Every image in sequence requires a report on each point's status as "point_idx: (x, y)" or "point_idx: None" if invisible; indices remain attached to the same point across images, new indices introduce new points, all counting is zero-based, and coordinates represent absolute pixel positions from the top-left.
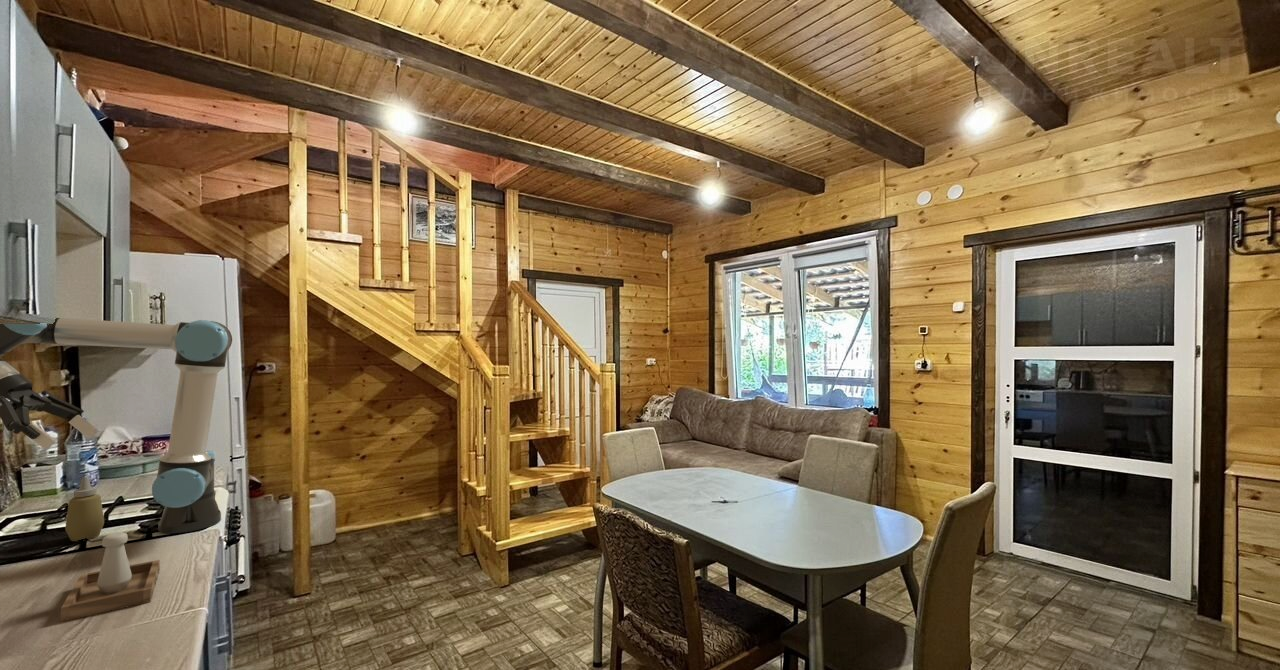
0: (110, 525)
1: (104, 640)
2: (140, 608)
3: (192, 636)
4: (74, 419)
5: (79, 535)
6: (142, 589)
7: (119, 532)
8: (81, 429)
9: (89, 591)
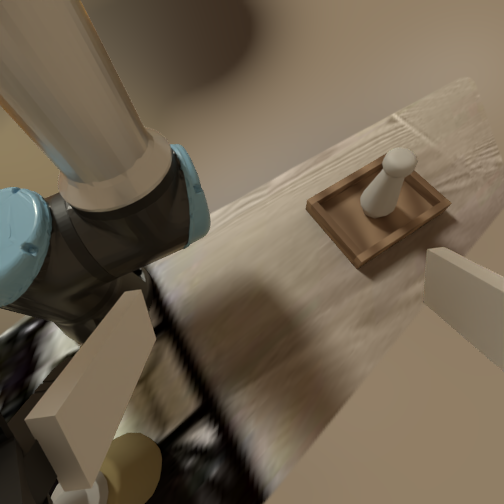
0: None
1: (463, 145)
2: None
3: (440, 89)
4: (81, 433)
5: (160, 455)
6: None
7: (393, 156)
8: (129, 374)
9: (381, 233)
